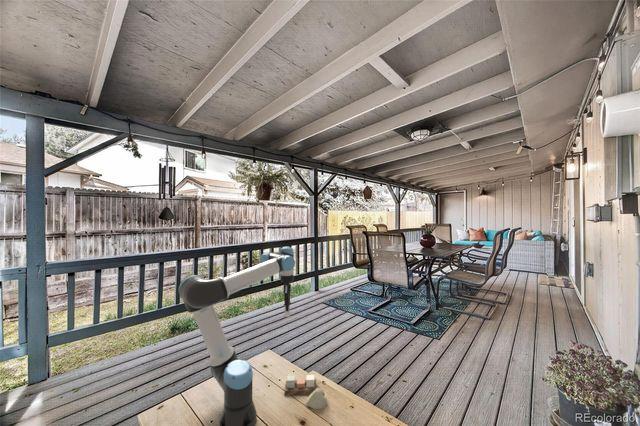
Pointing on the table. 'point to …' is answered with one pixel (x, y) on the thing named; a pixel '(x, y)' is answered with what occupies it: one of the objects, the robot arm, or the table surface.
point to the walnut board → (299, 389)
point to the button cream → (310, 380)
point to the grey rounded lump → (316, 399)
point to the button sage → (291, 381)
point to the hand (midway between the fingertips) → (287, 316)
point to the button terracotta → (301, 383)
